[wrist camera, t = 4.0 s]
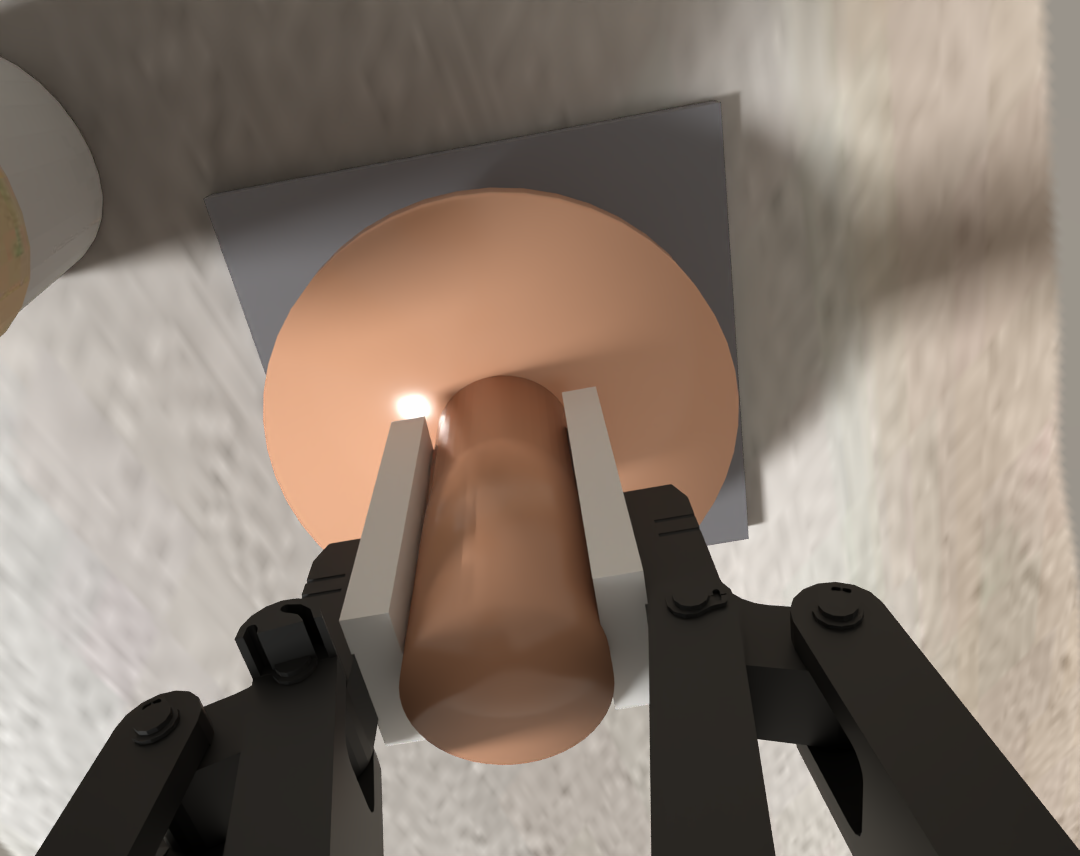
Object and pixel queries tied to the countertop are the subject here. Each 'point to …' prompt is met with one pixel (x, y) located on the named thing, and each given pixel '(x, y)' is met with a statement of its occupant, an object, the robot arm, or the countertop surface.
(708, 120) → the mat
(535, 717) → the lid
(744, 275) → the countertop surface
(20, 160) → the coffee cup
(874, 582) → the countertop surface
